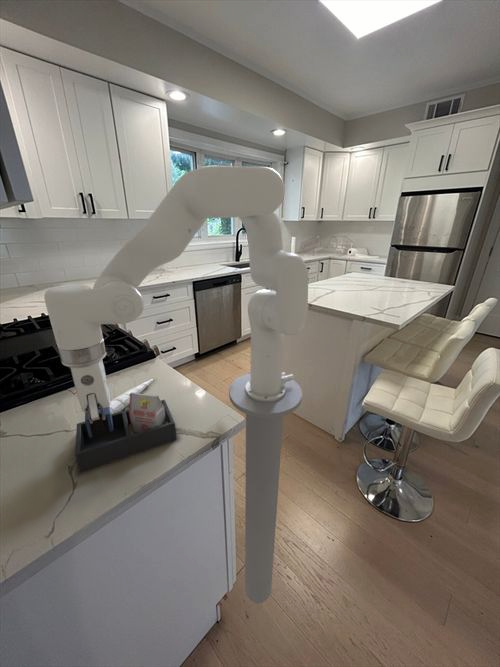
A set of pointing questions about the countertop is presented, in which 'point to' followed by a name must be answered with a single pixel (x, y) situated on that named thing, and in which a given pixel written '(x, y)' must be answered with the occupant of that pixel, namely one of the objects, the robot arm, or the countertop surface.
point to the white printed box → (145, 412)
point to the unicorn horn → (126, 398)
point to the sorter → (120, 440)
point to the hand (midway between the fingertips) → (101, 426)
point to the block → (107, 413)
